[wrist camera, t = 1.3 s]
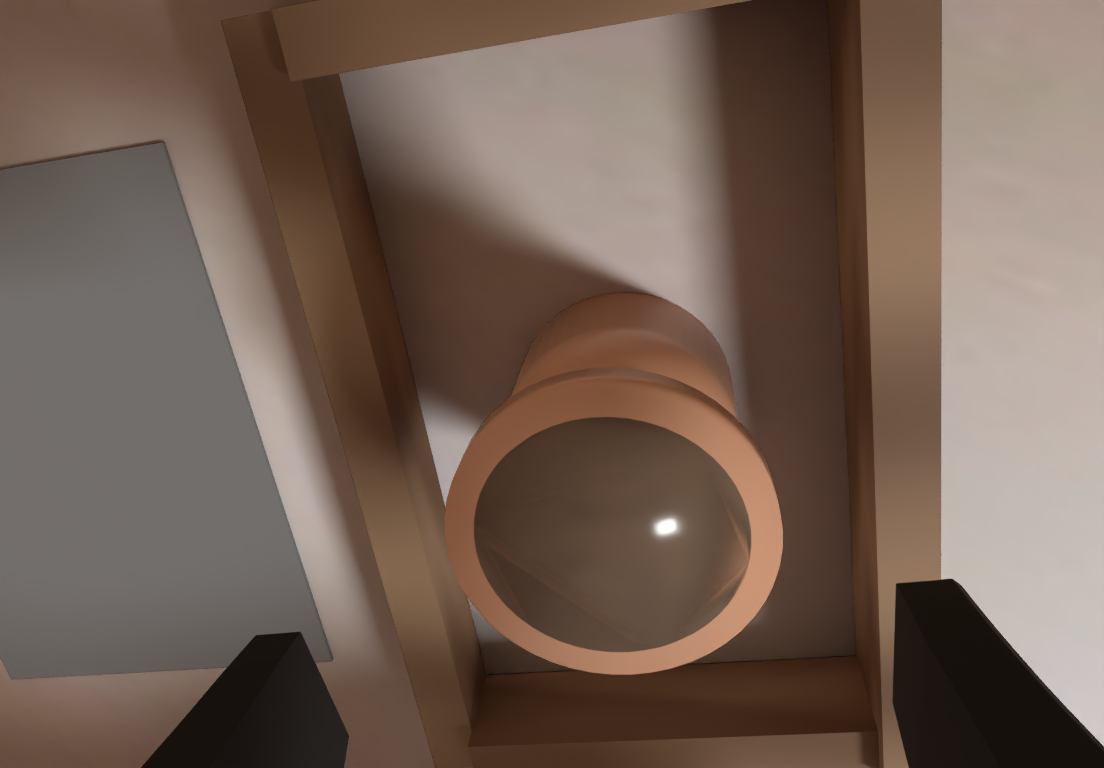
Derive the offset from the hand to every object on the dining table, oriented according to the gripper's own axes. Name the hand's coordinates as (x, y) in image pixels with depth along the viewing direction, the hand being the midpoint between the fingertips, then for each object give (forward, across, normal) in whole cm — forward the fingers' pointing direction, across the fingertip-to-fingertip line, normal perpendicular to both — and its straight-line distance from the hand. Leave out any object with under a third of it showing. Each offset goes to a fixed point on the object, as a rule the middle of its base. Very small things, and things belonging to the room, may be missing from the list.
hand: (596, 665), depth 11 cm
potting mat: (+10, +14, +2) cm, 17 cm away
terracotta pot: (+10, 0, +2) cm, 10 cm away
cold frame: (+10, 0, +2) cm, 10 cm away
